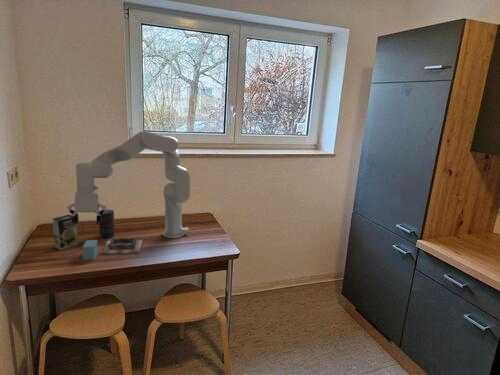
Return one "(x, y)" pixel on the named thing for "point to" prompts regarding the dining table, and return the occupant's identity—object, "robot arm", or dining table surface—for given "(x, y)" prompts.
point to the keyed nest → (122, 246)
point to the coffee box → (65, 232)
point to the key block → (90, 250)
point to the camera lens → (107, 224)
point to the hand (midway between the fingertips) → (87, 222)
